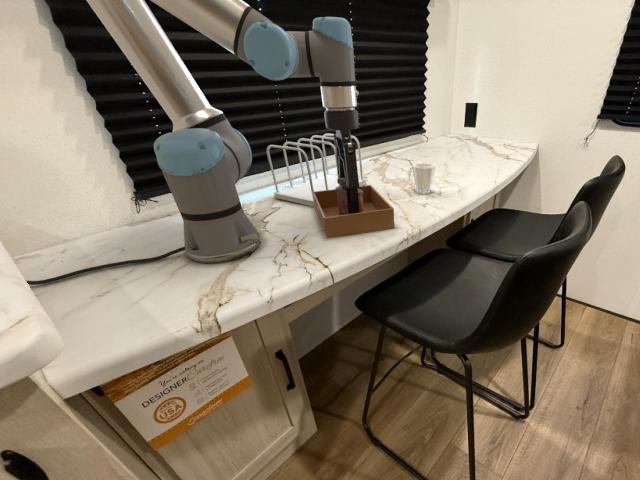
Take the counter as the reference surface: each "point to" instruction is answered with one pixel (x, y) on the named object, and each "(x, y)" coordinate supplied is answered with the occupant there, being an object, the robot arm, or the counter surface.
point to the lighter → (343, 197)
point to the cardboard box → (371, 219)
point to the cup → (422, 177)
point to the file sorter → (325, 182)
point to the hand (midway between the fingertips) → (350, 208)
